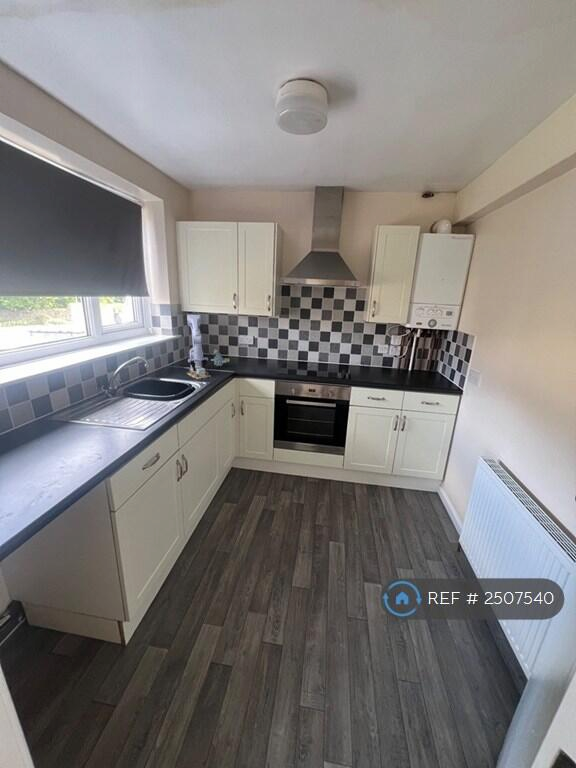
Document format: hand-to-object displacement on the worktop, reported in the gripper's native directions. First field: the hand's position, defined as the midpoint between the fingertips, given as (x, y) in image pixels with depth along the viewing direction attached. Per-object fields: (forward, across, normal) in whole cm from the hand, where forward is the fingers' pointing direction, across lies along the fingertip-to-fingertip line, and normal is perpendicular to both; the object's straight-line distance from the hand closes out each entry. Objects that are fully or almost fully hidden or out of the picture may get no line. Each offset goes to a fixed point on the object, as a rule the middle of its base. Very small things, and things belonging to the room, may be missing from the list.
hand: (198, 370), depth 224 cm
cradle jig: (+4, 0, 0) cm, 4 cm away
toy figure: (+4, +27, +21) cm, 34 cm away
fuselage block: (+3, 0, 0) cm, 3 cm away
